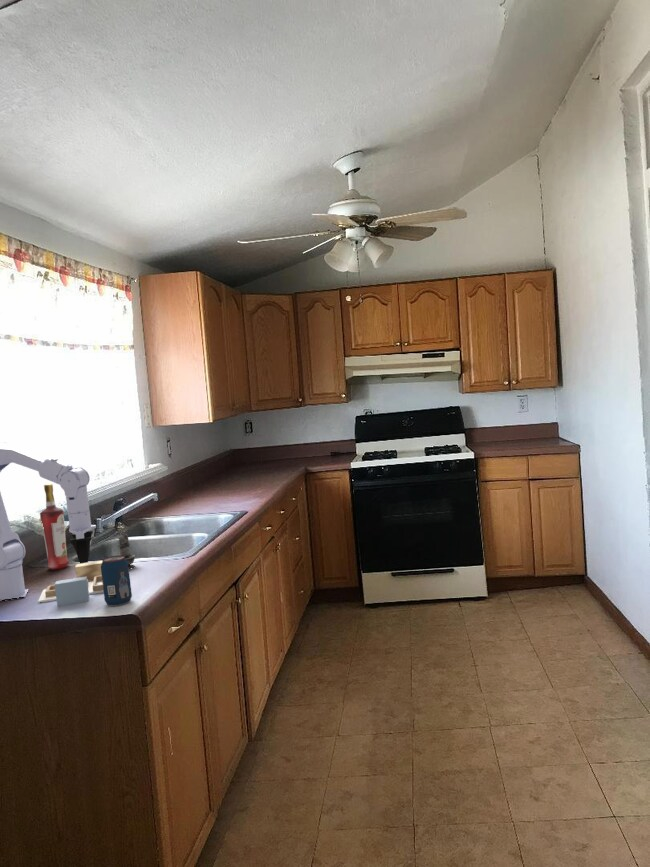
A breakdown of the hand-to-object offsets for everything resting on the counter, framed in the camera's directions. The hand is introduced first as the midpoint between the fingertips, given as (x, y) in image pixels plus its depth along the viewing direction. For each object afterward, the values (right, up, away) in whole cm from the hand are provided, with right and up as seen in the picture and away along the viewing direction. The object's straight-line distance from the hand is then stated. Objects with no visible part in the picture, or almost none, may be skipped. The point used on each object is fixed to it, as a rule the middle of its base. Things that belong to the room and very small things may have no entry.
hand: (84, 559), depth 199 cm
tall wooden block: (-3, -9, +17) cm, 19 cm away
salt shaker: (+4, -8, +27) cm, 29 cm away
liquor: (-21, -10, +37) cm, 43 cm away
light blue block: (-1, -10, -6) cm, 12 cm away
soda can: (+13, -9, -12) cm, 20 cm away
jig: (-3, -10, +5) cm, 11 cm away
